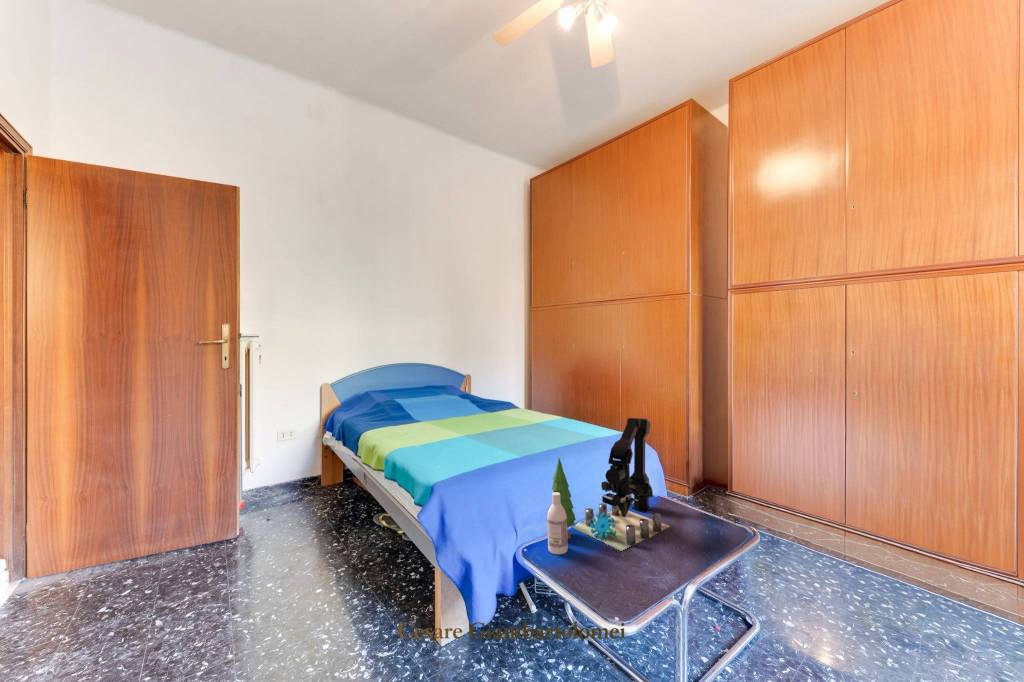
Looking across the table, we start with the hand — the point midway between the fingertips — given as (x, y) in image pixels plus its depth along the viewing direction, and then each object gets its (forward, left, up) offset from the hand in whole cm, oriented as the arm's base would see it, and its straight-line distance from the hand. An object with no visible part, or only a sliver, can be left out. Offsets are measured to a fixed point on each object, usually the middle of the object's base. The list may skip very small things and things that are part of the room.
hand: (623, 516), depth 156 cm
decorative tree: (+23, -10, -5) cm, 25 cm away
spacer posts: (+1, 0, -4) cm, 4 cm away
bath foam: (+32, -4, -5) cm, 32 cm away
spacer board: (+1, -1, -4) cm, 5 cm away
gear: (+12, 0, -4) cm, 13 cm away
